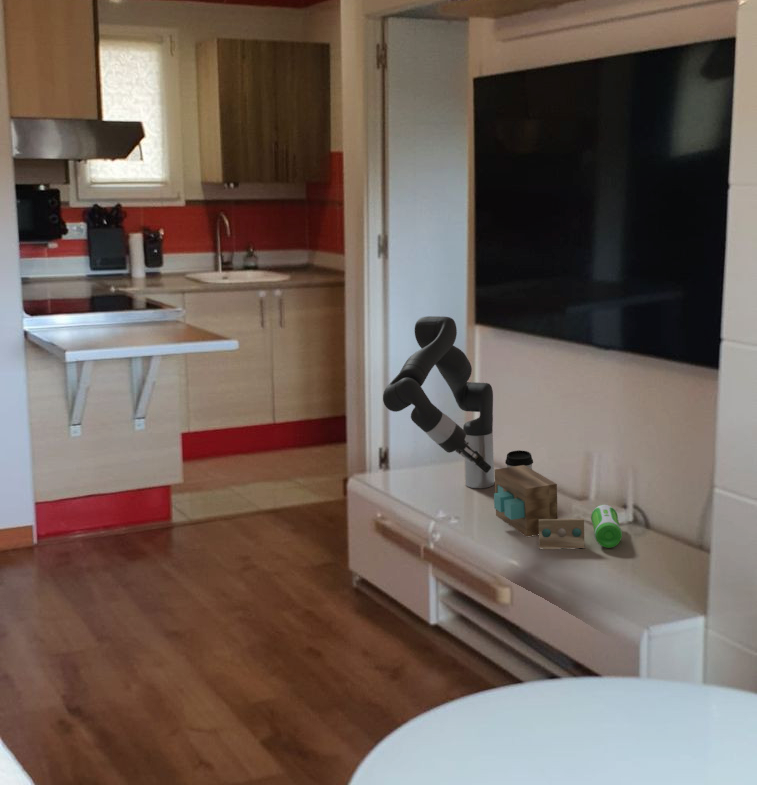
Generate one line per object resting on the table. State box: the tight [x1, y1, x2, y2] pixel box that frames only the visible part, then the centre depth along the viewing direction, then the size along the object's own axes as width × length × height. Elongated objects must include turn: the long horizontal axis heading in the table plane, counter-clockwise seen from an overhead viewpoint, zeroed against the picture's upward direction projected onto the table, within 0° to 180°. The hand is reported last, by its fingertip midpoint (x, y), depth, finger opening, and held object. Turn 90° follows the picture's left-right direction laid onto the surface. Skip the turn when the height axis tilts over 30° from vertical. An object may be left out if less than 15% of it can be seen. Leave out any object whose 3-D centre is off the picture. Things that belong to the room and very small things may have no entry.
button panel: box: [494, 465, 559, 537], centre depth 333 cm, size 10×21×14 cm, turn 18°
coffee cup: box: [505, 449, 534, 470], centre depth 353 cm, size 8×8×15 cm
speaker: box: [590, 504, 623, 549], centre depth 319 cm, size 18×7×8 cm, turn 174°
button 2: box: [504, 498, 525, 520], centre depth 325 cm, size 6×4×4 cm
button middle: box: [493, 491, 514, 512], centre depth 331 cm, size 6×4×4 cm
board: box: [538, 518, 586, 550], centre depth 315 cm, size 5×12×8 cm, turn 83°
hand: (488, 469), depth 320 cm, fingers closed
